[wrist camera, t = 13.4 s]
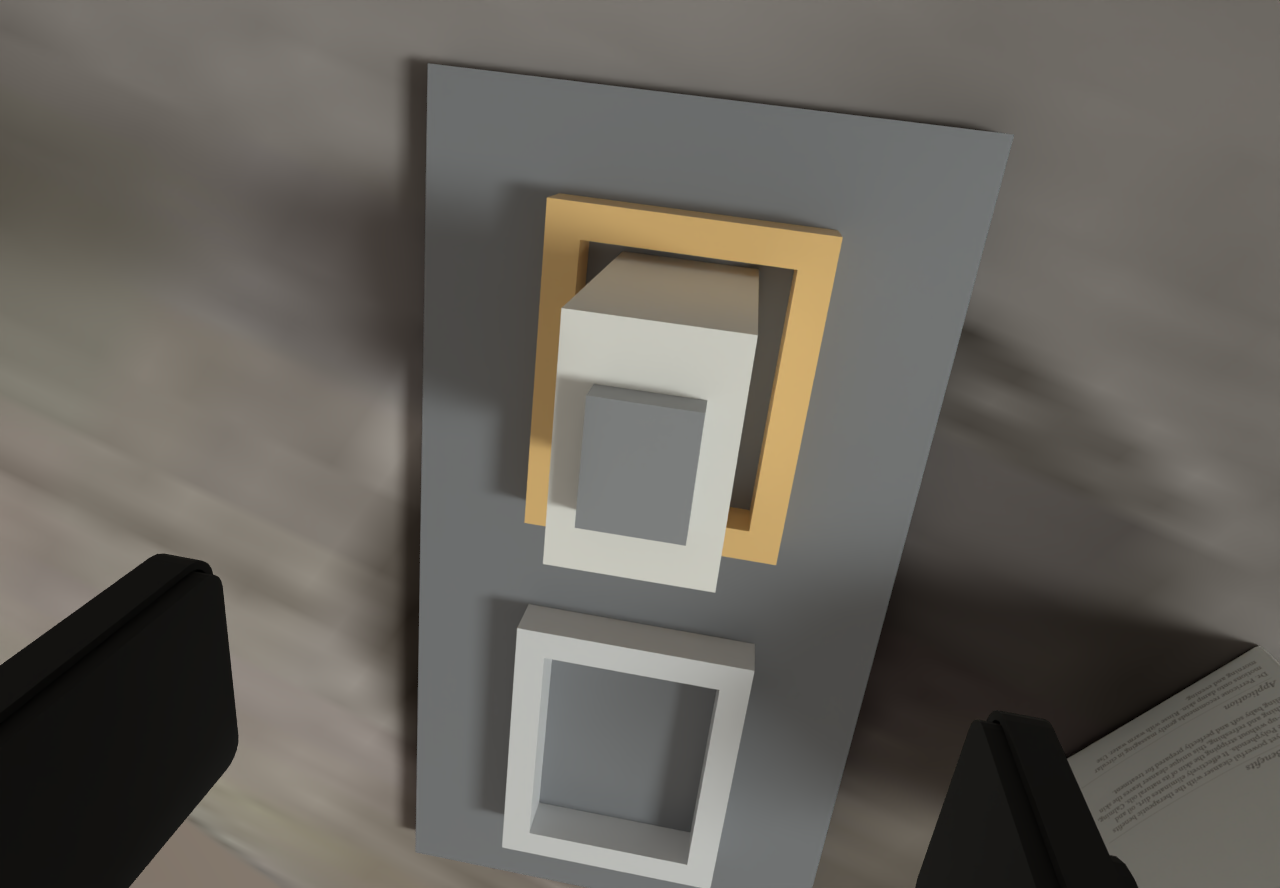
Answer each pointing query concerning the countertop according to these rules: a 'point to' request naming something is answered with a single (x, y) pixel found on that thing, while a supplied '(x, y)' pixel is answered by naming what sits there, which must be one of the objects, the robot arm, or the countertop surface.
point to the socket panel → (762, 490)
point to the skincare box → (1195, 783)
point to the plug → (650, 418)
